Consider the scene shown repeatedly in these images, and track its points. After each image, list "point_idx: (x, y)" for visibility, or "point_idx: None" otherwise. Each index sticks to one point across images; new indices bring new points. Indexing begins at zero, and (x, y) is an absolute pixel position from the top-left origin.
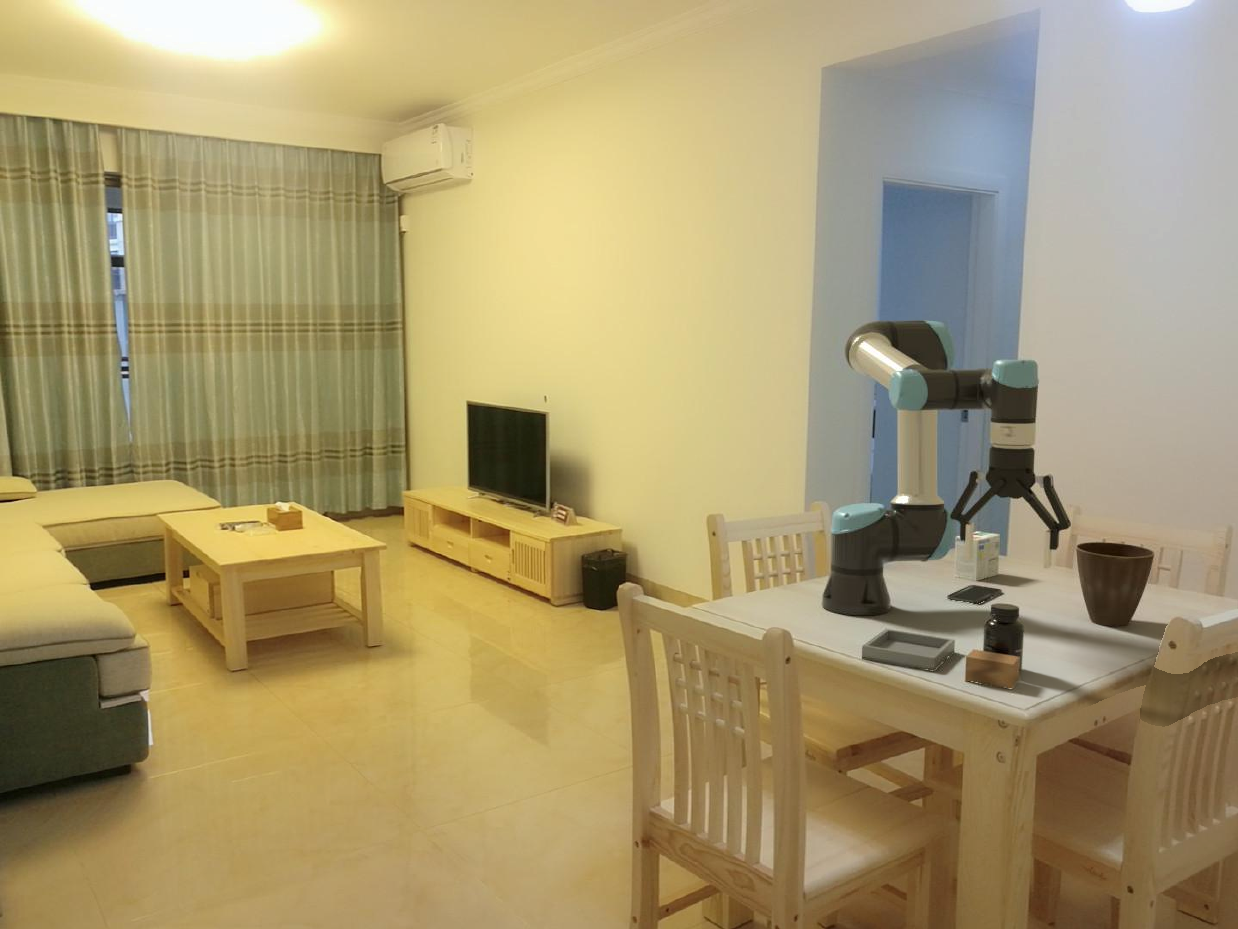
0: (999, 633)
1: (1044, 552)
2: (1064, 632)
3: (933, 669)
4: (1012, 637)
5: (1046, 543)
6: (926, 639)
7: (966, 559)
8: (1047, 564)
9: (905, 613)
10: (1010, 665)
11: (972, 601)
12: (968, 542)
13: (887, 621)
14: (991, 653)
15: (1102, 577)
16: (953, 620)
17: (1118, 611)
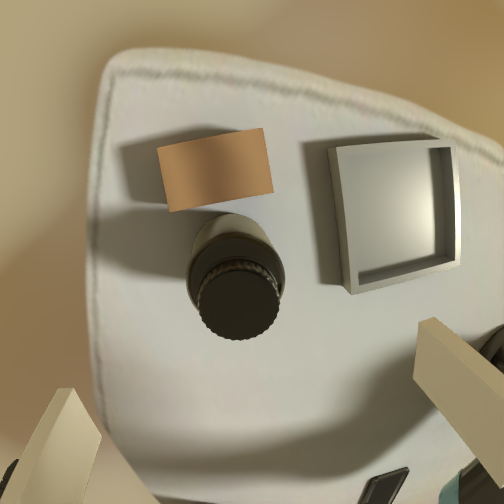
0: (226, 232)
1: (46, 439)
2: (240, 470)
3: (328, 148)
4: (198, 246)
5: (24, 475)
6: (395, 273)
7: (428, 319)
8: (53, 399)
9: None
10: (163, 147)
11: (379, 477)
12: (474, 367)
13: None
14: (228, 191)
15: None
16: (387, 418)
17: None
